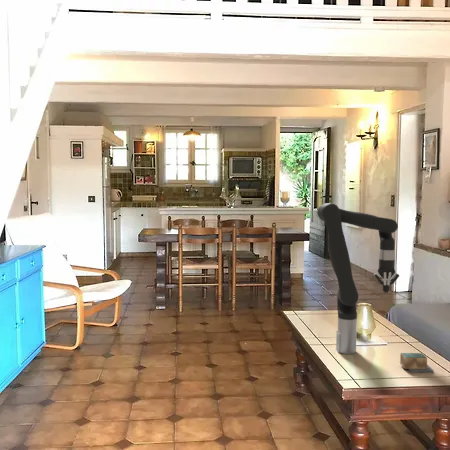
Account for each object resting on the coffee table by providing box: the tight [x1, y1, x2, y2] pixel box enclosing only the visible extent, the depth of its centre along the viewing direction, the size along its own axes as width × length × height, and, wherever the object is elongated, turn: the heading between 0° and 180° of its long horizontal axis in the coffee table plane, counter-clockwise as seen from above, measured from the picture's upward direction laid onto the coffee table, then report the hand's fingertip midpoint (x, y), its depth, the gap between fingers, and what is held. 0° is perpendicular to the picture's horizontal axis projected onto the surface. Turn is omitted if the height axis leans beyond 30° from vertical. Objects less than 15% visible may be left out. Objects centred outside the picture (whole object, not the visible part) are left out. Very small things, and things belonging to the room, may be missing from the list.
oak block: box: [399, 352, 428, 370], centre depth 233 cm, size 5×6×10 cm
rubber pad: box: [408, 363, 435, 374], centre depth 234 cm, size 10×10×1 cm
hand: (385, 292), depth 258 cm, fingers closed
